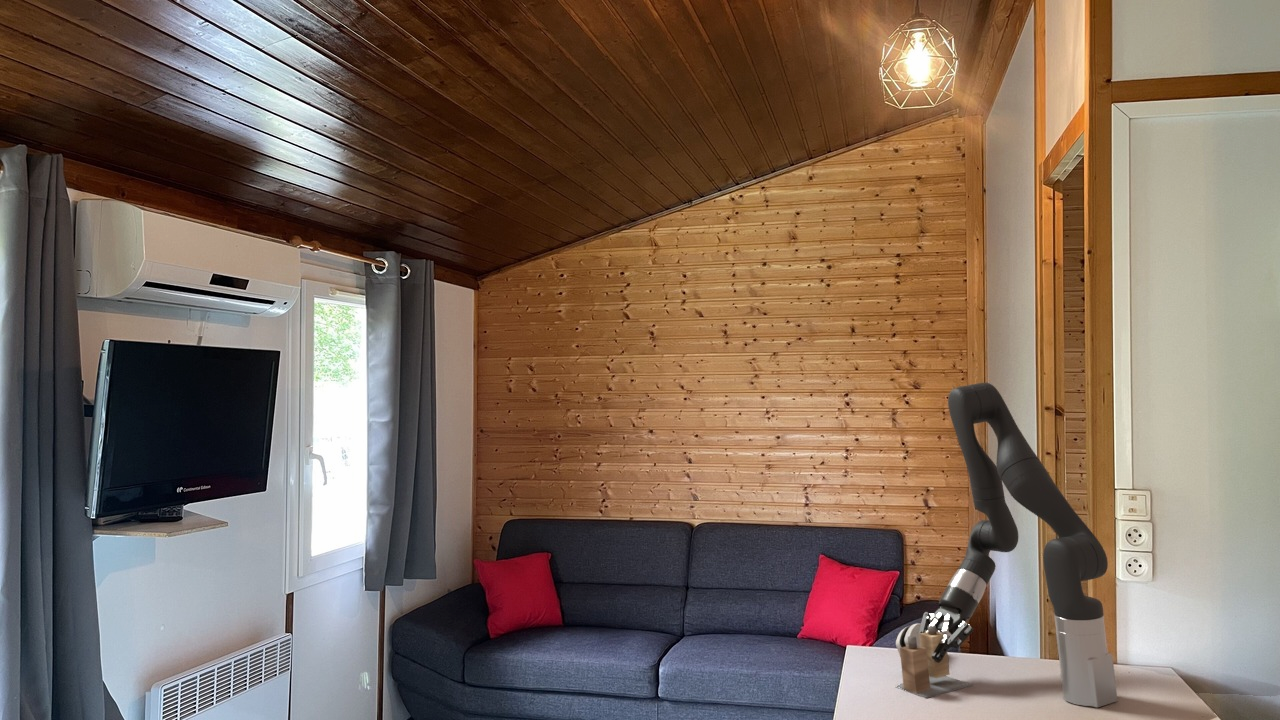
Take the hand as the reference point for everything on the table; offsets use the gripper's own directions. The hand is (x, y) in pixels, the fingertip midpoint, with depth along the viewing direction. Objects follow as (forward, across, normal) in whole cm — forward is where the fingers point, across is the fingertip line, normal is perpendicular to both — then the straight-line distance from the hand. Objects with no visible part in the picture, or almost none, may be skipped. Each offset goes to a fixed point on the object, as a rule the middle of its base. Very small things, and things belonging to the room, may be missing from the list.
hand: (928, 657), depth 203 cm
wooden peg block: (+2, 0, +4) cm, 4 cm away
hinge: (-3, -14, +12) cm, 19 cm away
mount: (+5, 0, +4) cm, 6 cm away
